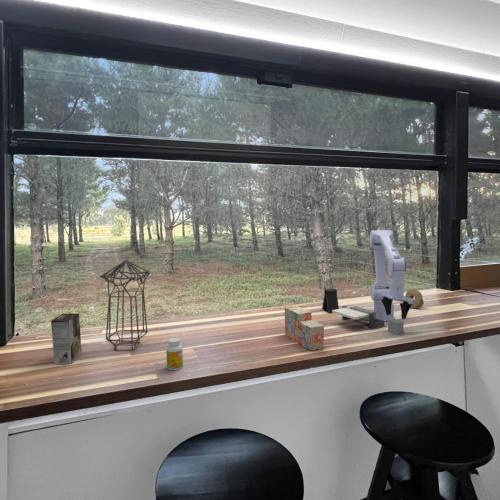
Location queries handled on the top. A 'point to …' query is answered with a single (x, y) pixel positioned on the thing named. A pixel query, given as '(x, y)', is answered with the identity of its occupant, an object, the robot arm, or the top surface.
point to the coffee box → (66, 338)
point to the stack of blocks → (303, 328)
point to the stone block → (395, 326)
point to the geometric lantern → (122, 265)
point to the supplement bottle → (174, 354)
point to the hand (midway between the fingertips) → (396, 316)
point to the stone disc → (418, 298)
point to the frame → (372, 322)
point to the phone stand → (330, 300)
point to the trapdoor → (355, 313)
